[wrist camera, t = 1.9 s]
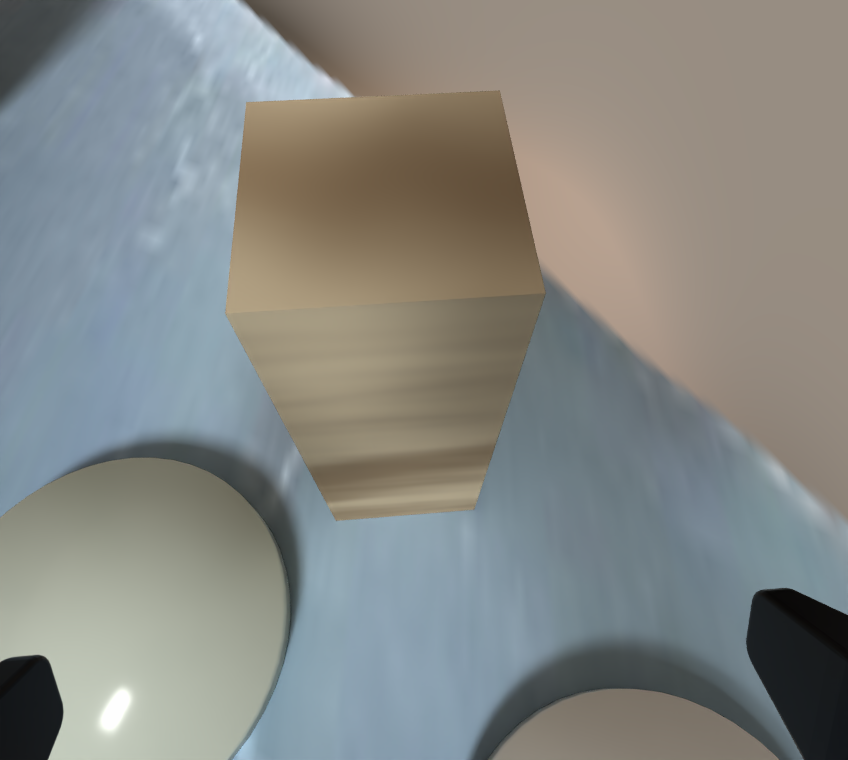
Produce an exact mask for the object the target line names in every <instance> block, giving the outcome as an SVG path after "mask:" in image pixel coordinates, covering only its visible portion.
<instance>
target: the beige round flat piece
mask: <svg viewBox="0 0 848 760" xmlns="http://www.w3.org/2000/svg"><path fill="white" fill-rule="evenodd" d="M290 616H291V610H290V590H289V583H288V577H287V571H286V568H285V564H284V561H283V558H282V555H281V551H280V549H279V547H278V545H277V543H276V540H275V538H274V536H273V534H272V532H271V531H270V529H269V528H268V526H267V525H266V523H265V522H264V520H263V519H262V517H261V516H260V515H259V514H258V513H257V511H256V510H255V509H254V508H253V507H252V506H251V505H250V504H249V503H248V502H247V501H246V500H245V499H244V497H243V496H242V495H241V494H240V493H238V492H237V491H236V490H235V489H233V488H232V487H231V486H230V485H229V484H227V483H226V482H225V481H223V480H221V479H220V478H218V477H216V476H215V475H213V474H211V473H210V472H208V471H205V470H203V469H200V468H198V467H196V466H193V465H190V464H186V463H183V462H179V461H175V460H169V459H160V458H128V459H120V460H113V461H108V462H104V463H100V464H96V465H92V466H89V467H86V468H83V469H80V470H78V471H75V472H72V473H69V474H67V475H65V476H63V477H61V478H59V479H57V480H55V481H53V482H51V483H49V484H47V485H45V486H44V487H42V488H40V489H39V490H37V491H35V492H34V493H32V494H31V495H29V496H27V497H26V498H25V499H23V500H22V501H21V502H19V503H18V504H17V505H15V506H14V507H13V508H11V509H10V510H9V511H7V512H6V513H5V514H4V515H3V516H2V517H1V518H0V662H1V661H3V660H5V659H7V658H11V657H17V656H28V655H42V656H45V657H46V658H47V659H48V660H49V662H50V664H51V667H52V671H53V674H54V677H55V680H56V683H57V686H58V690H59V693H60V696H61V699H62V702H63V710H64V714H63V721H62V725H61V728H60V731H59V734H58V736H57V739H56V741H55V744H54V746H53V749H52V751H51V754H50V756H49V759H48V760H232V759H233V758H234V757H235V755H236V754H237V753H238V751H239V750H240V749H241V747H242V746H243V745H244V743H245V742H246V741H247V739H248V738H249V737H250V735H251V733H252V732H253V730H254V728H255V727H256V725H257V723H258V722H259V720H260V718H261V717H262V715H263V713H264V711H265V709H266V707H267V705H268V703H269V700H270V698H271V696H272V694H273V692H274V689H275V687H276V684H277V681H278V678H279V675H280V672H281V669H282V666H283V663H284V658H285V653H286V648H287V643H288V638H289V627H290Z"/></svg>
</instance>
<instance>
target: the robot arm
mask: <svg viewBox="0 0 848 760" xmlns="http://www.w3.org/2000/svg"><path fill="white" fill-rule="evenodd" d="M746 645H747V651H748V655H749V658H750V660H751V662H752V664H753V666H754V668H755V670H756V672H757V674H758V675H759V677H760V679H761V681H762V683H763V685H764V687H765V688H766V690H767V692H768V694H769V696H770V698H771V700H772V701H773V703H774V705H775V707H776V709H777V711H778V712H779V714H780V716H781V718H782V720H783V722H784V724H785V725H786V727H787V729H788V731H789V733H790V735H791V737H792V738H793V740H794V742H795V744H796V746H797V748H798V749H799V751H800V753H801V755H802V757H803V759H804V760H848V615H846V614H844V613H842V612H840V611H838V610H836V609H833V608H831V607H829V606H827V605H825V604H823V603H821V602H818V601H816V600H814V599H812V598H810V597H808V596H806V595H804V594H801V593H799V592H797V591H795V590H793V589H789V588H777V589H766V590H760V591H758V592H756V593H755V595H754V596H753V599H752V604H751V611H750V618H749V625H748V631H747V638H746ZM63 714H64V710H63V702H62V699H61V696H60V693H59V690H58V686H57V683H56V680H55V677H54V674H53V671H52V667H51V664H50V662H49V660H48V659H47V658H46V657H45V656H42V655H28V656H17V657H11V658H7V659H5V660H3V661H1V662H0V760H48V759H49V756H50V754H51V751H52V749H53V746H54V744H55V741H56V739H57V736H58V734H59V731H60V728H61V725H62V721H63Z"/></svg>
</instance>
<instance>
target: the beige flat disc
mask: <svg viewBox="0 0 848 760" xmlns="http://www.w3.org/2000/svg"><path fill="white" fill-rule="evenodd" d="M487 760H779V759H778V758H777V757H776V756H775V755H774V754H773V753H772V752H771V751H769V750H768V749H767V748H766V747H765V746H764V745H763V744H762V743H761V742H759V741H758V740H757V739H756V738H754V737H753V736H751V735H750V734H749V733H747V732H746V731H745V730H743V729H742V728H740V727H739V726H738V725H736V724H735V723H733V722H732V721H730V720H728V719H726V718H725V717H723V716H721V715H719V714H717V713H716V712H714V711H712V710H710V709H708V708H706V707H703V706H701V705H699V704H696V703H694V702H691V701H689V700H687V699H684V698H680V697H676V696H673V695H669V694H665V693H662V692H655V691H647V690H639V689H626V688H615V689H596V690H591V691H585V692H579V693H576V694H573V695H570V696H567V697H564V698H561V699H558V700H556V701H554V702H552V703H550V704H548V705H547V706H545V707H543V708H541V709H539V710H537V711H536V712H534V713H533V714H532V715H530V716H529V717H528V718H526V719H525V720H524V721H522V722H521V723H520V724H518V725H517V726H516V727H515V728H514V729H513V730H512V731H511V732H510V733H509V734H508V735H507V736H506V737H505V738H504V739H503V740H502V741H501V742H500V743H499V745H498V746H497V747H496V749H495V750H494V751H493V753H492V754H491V755H490V757H489V758H488V759H487Z"/></svg>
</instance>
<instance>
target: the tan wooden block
mask: <svg viewBox="0 0 848 760" xmlns="http://www.w3.org/2000/svg"><path fill="white" fill-rule="evenodd" d="M545 294H546V292H545V288H544V284H543V279H542V275H541V270H540V266H539V261H538V257H537V253H536V249H535V244H534V239H533V235H532V231H531V226H530V222H529V217H528V213H527V209H526V204H525V200H524V196H523V191H522V187H521V182H520V178H519V173H518V170H517V165H516V160H515V156H514V152H513V147H512V143H511V138H510V134H509V129H508V125H507V121H506V116H505V112H504V107H503V103H502V98H501V94H500V91H480V92H459V93H439V94H417V95H395V96H372V97H351V98H329V99H307V100H286V101H264V102H246V111H245V121H244V131H243V141H242V151H241V162H240V172H239V182H238V192H237V202H236V212H235V222H234V232H233V242H232V252H231V262H230V272H229V282H228V292H227V302H226V312H225V314H226V316H227V318H228V320H229V321H230V323H231V325H232V327H233V329H234V331H235V333H236V335H237V336H238V338H239V340H240V342H241V344H242V346H243V348H244V350H245V351H246V353H247V355H248V357H249V359H250V361H251V363H252V365H253V366H254V368H255V370H256V372H257V374H258V376H259V378H260V379H261V381H262V383H263V385H264V387H265V389H266V391H267V393H268V394H269V396H270V398H271V400H272V402H273V404H274V406H275V408H276V409H277V411H278V413H279V415H280V417H281V419H282V421H283V423H284V424H285V426H286V428H287V430H288V432H289V434H290V436H291V438H292V439H293V441H294V443H295V445H296V447H297V449H298V451H299V452H300V454H301V456H302V458H303V460H304V462H305V464H306V466H307V467H308V469H309V471H310V473H311V475H312V477H313V479H314V481H315V482H316V484H317V486H318V488H319V490H320V492H321V494H322V496H323V497H324V499H325V501H326V503H327V505H328V507H329V509H330V511H331V512H332V514H333V516H334V518H335V520H336V521H339V520H351V519H364V518H376V517H389V516H401V515H413V514H426V513H438V512H451V511H463V510H474V509H475V505H476V502H477V499H478V496H479V493H480V490H481V487H482V484H483V481H484V478H485V475H486V472H487V469H488V466H489V463H490V460H491V457H492V454H493V451H494V448H495V445H496V442H497V439H498V436H499V433H500V430H501V427H502V424H503V421H504V418H505V415H506V412H507V409H508V406H509V403H510V400H511V397H512V394H513V391H514V388H515V385H516V382H517V379H518V376H519V373H520V370H521V367H522V364H523V361H524V358H525V355H526V351H527V348H528V345H529V342H530V339H531V336H532V333H533V330H534V327H535V324H536V321H537V318H538V315H539V312H540V309H541V306H542V303H543V300H544V297H545Z"/></svg>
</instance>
